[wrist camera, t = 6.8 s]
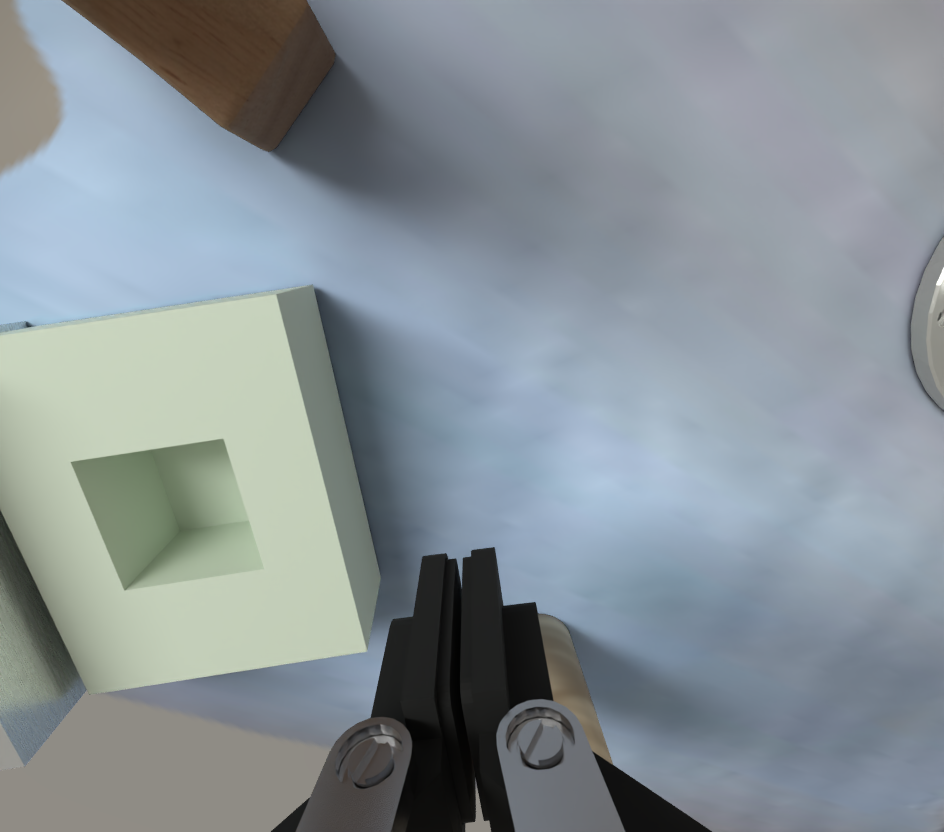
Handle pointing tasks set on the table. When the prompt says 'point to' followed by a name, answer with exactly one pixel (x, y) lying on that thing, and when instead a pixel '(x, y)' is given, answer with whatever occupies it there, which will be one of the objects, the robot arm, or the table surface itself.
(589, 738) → the wooden dowel
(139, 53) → the wooden block
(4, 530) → the backstop board
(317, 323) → the socket block
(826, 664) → the table surface
